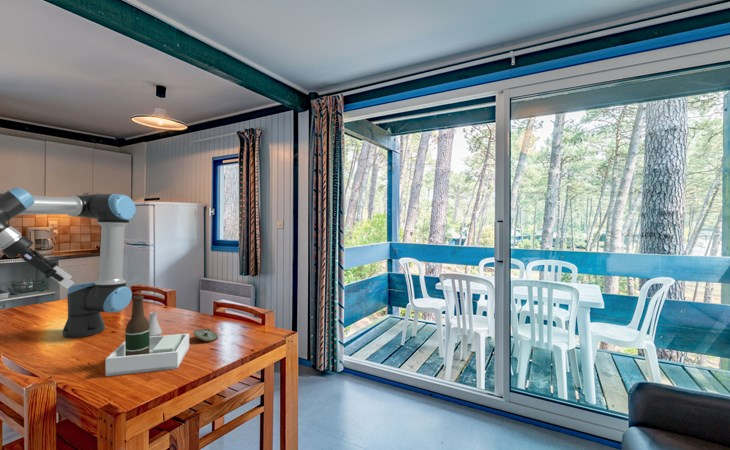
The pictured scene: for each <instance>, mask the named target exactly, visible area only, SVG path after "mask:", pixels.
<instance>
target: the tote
mask: <svg viewBox="0 0 730 450" xmlns="http://www.w3.org/2000/svg"><path fill="white" fill-rule="evenodd" d="M173 335H174V334H167V335H157V336H151V337H150V351H149V354H142V355H131V356H125V341H123V342H122V343H121V344H120V345H118V346H117V348H116V349H115V350H113V351H112V352H111V353H110V354H109V355H108V356H107V357H106V358H105V377H110V376H120V375H121V376H122V375H129V374H139V373H141V374H142V373H149V372H156V371H157V372H158V371H168V370H177V369H178V368H179V367H180V366H181V364H182V362H183V360H184V358H185V356H186V354H187V352H188V351H189V349H190V333H177V334H176V333H175V335H182V337H181V343H180V345H179V346H178V348H177V350H176V351H174V352H163V353H153V349H154V348H155V347H156V345H157V344H158V343H159V342H160V340H161V339H162V338H163V337H164V336H173Z"/></svg>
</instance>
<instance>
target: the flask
mask: <svg viewBox="0 0 730 450" xmlns="http://www.w3.org/2000/svg"><path fill="white" fill-rule="evenodd" d="M148 315H149V319H148V322H149V327H150V337H151V336H161V334H163V329H162V328H161V325H160V324H159V321H158V316H157V315H158V312H154V311H153V312H150V313H148Z"/></svg>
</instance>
